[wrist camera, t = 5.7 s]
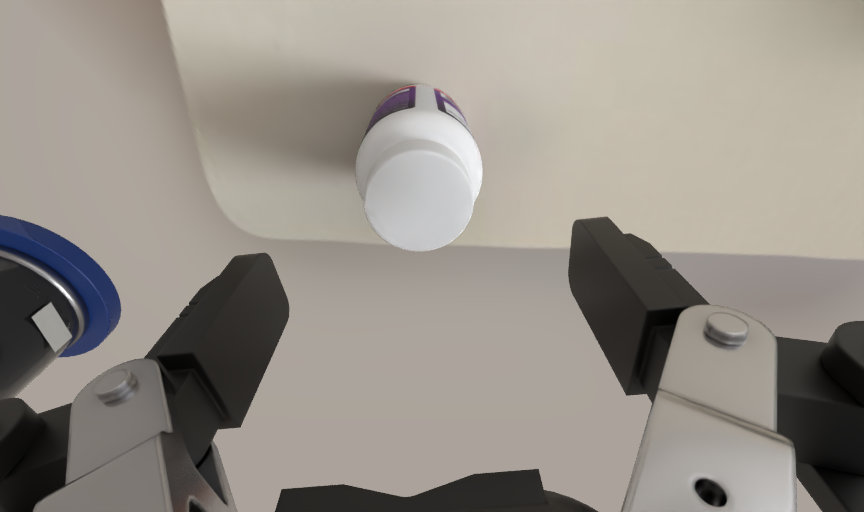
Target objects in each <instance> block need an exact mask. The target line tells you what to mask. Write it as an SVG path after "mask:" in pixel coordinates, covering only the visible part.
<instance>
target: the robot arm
mask: <svg viewBox="0 0 864 512" xmlns="http://www.w3.org/2000/svg"><path fill="white" fill-rule="evenodd" d="M568 276H569V283H570V288H571V291H572V294H573V296H574V297H575V299H576V301H577V303H578V305H579V307H580V309H581V311H582V313H583V315H584V317H585V318H586V320H587V322H588V324H589V326H590V328H591V330H592V331H593V333H594V335H595V337H596V339H597V341H598V343H599V345H600V347H601V349H602V350H603V352H604V354H605V356H606V358H607V360H608V362H609V364H610V365H611V367H612V369H613V371H614V373H615V375H616V377H617V378H618V380H619V382H620V384H621V386H622V388H623V390H624V392H625V394H626V395H639V394H647V395H648V397H649V399H650V400H651V402H652V406H651V410H650V413H649V416H648V420H647V424H646V427H645V430H644V434H643V437H642V440H641V444H640V447H639V451H638V454H637V458H636V461H635V464H634V468H633V471H632V475H631V478H630V481H629V485H628V488H627V492H626V495H625V498H624V501H623V505H622V508H621V512H797V488H796V477H797V478H798V479H799V481H800V482H801V483H802V485H803V486H804V487H805V489H806V490H807V491H808V493H809V494H810V496H811V497H812V498H813V499H814V501H815V502H816V504H817V505H818V506H819V508H820V509H821V510H822V512H864V321H854V322H848V323H844V324H842V325H840V326H839V327H838V328H837V329H836V330H835V332H834V333H833V335H832V337H831V338H830V340H829V342H828V343H823V342H815V341H807V340H799V339H791V338H783V337H776V336H774V334H773V333H772V332H771V330H770V329H769V328H767V327H766V326H765V325H764V324H763V323H761V322H760V321H759V320H757V319H755V318H754V317H752V316H750V315H748V314H746V313H744V312H741V311H738V310H735V309H732V308H729V307H724V306H719V305H710V304H709V303H708V302H707V301H706V300H705V299H704V298H703V297H702V296H701V295H700V294H699V293H698V292H697V291H696V290H695V289H694V288H693V287H692V286H691V285H690V284H689V283H688V282H687V281H686V280H685V279H684V278H683V277H682V276H681V275H680V274H679V273H678V272H677V271H676V270H675V269H672V266H671V264H670V263H669V262H668V261H667V260H666V259H664V258H662V255H661V254H660V253H659V252H658V251H657V250H656V249H655V248H654V247H653V246H652V245H651V244H650V243H648V242H646V241H644V240H642V239H640V238H638V237H636V236H634V235H633V234H631V233H630V234H623V233H622V232H621V231H620V230H619V228H618V227H617V226H616V225H615V224H614V223H613V222H612V221H611V220H610V219H609V218H608V217H599V218H589V219H580V220H576V221H575V222H574V224H573V228H572V237H571V248H570V259H569V270H568ZM288 318H289V303H288V299H287V296H286V294H285V291H284V289H283V286H282V284H281V281H280V279H279V276H278V274H277V271H276V269H275V266H274V264H273V261H272V259H271V257H270V256H269V255H268V254H266V253H257V254H248V255H238V256H235V257H234V258H233V259H232V260H231V261H230V263H229V264H228V265H227V266H226V268H225V269H224V270H223V271H222V273H221V274H220V275H219V276H217V277H216V278H215V279H213V280H212V281H210V282H209V283H208V284H206V285H205V286H204V287H202V288H201V289H200V290H199V291H198V293H197V294H196V295H195V296H194V297H193V299H192V300H191V301H190V302H189V306H186V307H185V308H184V310H183V311H182V312H181V313H180V317H179V318H176V320H175V321H174V322H173V323H172V324H171V326H170V327H169V328H168V329H167V331H166V332H165V333H164V334H163V335H162V337H161V338H160V339H159V340H158V341H157V343H156V344H155V345H154V346H153V348H152V349H151V350H150V351H149V352H148V354H147V355H146V356H145V357H144V359H135V360H131V361H127V362H125V363H122V364H120V365H117V366H115V367H113V368H111V369H109V370H107V371H105V372H104V373H102V374H101V375H99V376H98V377H96V378H95V379H93V380H92V381H91V382H90V383H88V384H87V385H86V386H85V387H84V389H82V390H81V392H80V393H79V394H78V395H77V396H76V398H75V399H74V401H73V403H70V404H67V405H64V406H61V407H58V408H55V409H51V410H48V411H45V412H42V413H39V414H37V413H35V411H33V410H32V409H31V408H30V407H29V406H28V405H27V404H26V403H25V402H24V401H23V400H22V399H19V398H15V397H16V396H17V395H18V394H19V393H20V392H21V391H22V390H23V389H24V388H25V387H26V386H27V385H28V384H29V383H30V382H32V381H33V380H34V378H36V377H37V376H38V375H39V374H40V373H41V372H42V371H43V370H44V369H45V368H47V367H48V366H49V365H50V364H51V363H52V362H53V361H54V360H55V359H56V358H57V357H58V356H59V355H61V354H62V353H63V352H64V351H65V350H66V349H68V348H69V347H71V346H72V345H73V344H74V343H75V342H77V341H78V340H79V339H80V338H81V337H82V336H83V335H84V333H85V332H86V330H87V329H88V326H89V312H88V309H87V306H86V304H85V301H84V300H83V298H82V296H81V295H80V293H79V292H78V291H77V290H76V288H75V287H74V286H73V285H72V284H71V283H70V282H69V281H68V280H67V279H66V278H65V277H64V276H62V275H61V274H60V273H59V272H57V271H56V270H55V269H53V268H52V267H50V266H49V265H47V264H45V263H44V262H42V261H40V260H38V259H37V258H35V257H33V256H31V255H28V254H26V253H24V252H21V251H19V250H16V249H13V248H10V247H7V246H3V245H0V512H237V509H236V506H235V503H234V499H233V496H232V493H231V490H230V487H229V483H228V480H227V477H226V474H225V471H224V467H223V464H222V461H221V458H220V454H219V451H218V449H217V446H216V445H215V443H214V442H213V438H214V435H215V434H216V432H217V430H218V429H227V428H239V427H241V425H242V422H243V420H244V418H245V416H246V414H247V411H248V409H249V407H250V404H251V402H252V400H253V398H254V395H255V393H256V391H257V389H258V387H259V384H260V382H261V380H262V378H263V375H264V373H265V371H266V369H267V366H268V364H269V362H270V360H271V357H272V355H273V353H274V351H275V348H276V346H277V344H278V342H279V339H280V337H281V335H282V333H283V330H284V328H285V326H286V324H287V321H288ZM275 512H598V511H596V510H595V509H593V508H591V507H589V506H588V505H586V504H583V503H581V502H579V501H577V500H575V499H573V498H570V497H567V496H564V495H561V494H558V493H555V492H551V491H546V490H543V485H542V482H541V477H540V474H539V469H533V470H521V471H507V472H495V473H483V474H473V475H470V476H467V477H465V478H462V479H459V480H456V481H454V482H451V483H448V484H446V485H443V486H440V487H437V488H434V489H431V490H429V491H426V492H423V493H420V494H418V495H415V496H411V497H400V496H395V495H390V494H386V493H381V492H376V491H372V490H367V489H362V488H357V487H353V486H348V485H344V484H343V485H330V486H317V487H304V488H292V489H282V490H281V493H280V497H279V500H278V503H277V507H276V510H275Z"/></svg>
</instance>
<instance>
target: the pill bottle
mask: <svg viewBox="0 0 864 512" xmlns="http://www.w3.org/2000/svg"><path fill="white" fill-rule="evenodd" d="M482 173H483V170H482V161H481V156H480V152H479V149H478V146H477V144H476V141H475V139H474V137H473V135H472V133H471V131H470V129H469V126H468V124H467V122H466V120H465V118H464V116H463V114H462V112H461V110H460V108H459V107H458V105H457V104H456V103H455V101H454V100H453V99H452V98H451V97H450V96H448V95H447V94H446V93H444V92H443V91H441V90H439V89H437V88H435V87H432V86H428V85H421V84H416V85H408V86H404V87H401V88H399V89H397V90H395V91H393V92H392V93H390V94H389V95H388V96H387V97H386V98H385V99H384V100H383V101H382V102H381V103H380V105H379V106H378V107H377V109H376V111H375V113H374V115H373V117H372V120H371V122H370V124H369V127H368V129H367V131H366V134H365V136H364V138H363V140H362V143H361V145H360V148H359V151H358V155H357V159H356V168H355V174H356V182H357V186H358V190H359V193H360V195H361V197H362V199H363V201H364V209H365V214H366V216H367V219H368V221H369V223H370V225H371V227H372V228H373V229H374V231H375V232H376V233H377V234H378V235H379V236H380V237H381V238H382V239H383V240H385V241H386V242H388V243H389V244H391V245H393V246H396V247H398V248H401V249H405V250H409V251H428V250H434V249H437V248H440V247H442V246H444V245H447V244H448V243H450V242H451V241H453V240H454V239H455V238H457V237H458V236H459V235H460V234H461V233H462V231H463V230H464V229H465V227H466V226H467V224H468V222H469V220H470V218H471V215H472V211H473V205H474V202H475V200H476V198H477V196H478V194H479V191H480V187H481V183H482Z"/></svg>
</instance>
